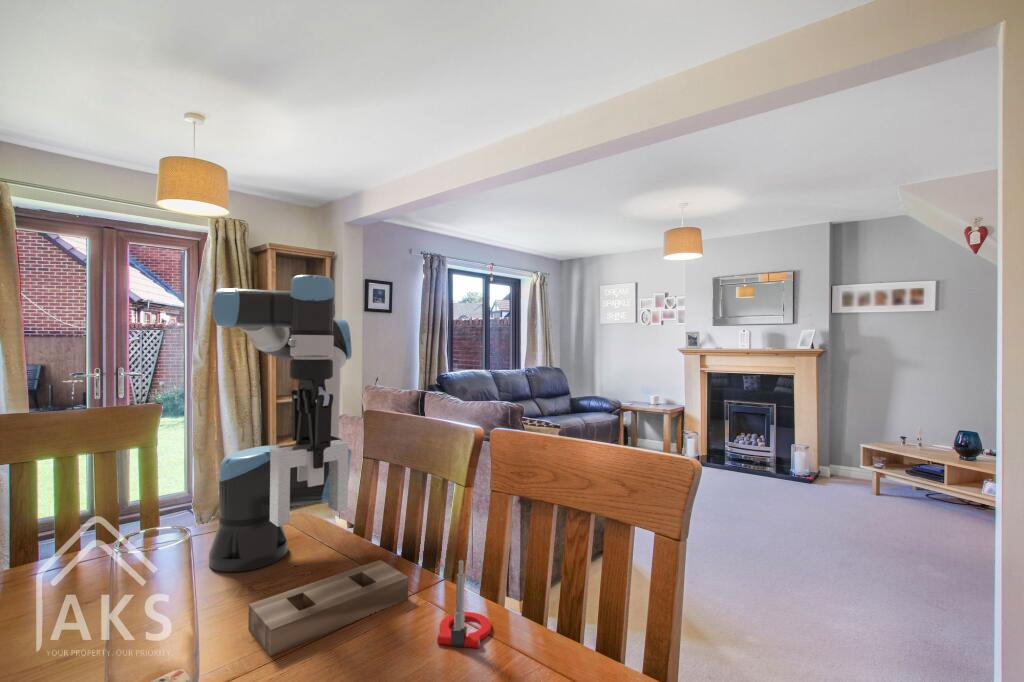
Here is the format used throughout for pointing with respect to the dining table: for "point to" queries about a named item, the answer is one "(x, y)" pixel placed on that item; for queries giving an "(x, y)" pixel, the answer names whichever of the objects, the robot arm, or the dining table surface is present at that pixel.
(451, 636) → the tow hook
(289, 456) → the clip
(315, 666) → the dining table surface
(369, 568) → the slotted wooden block
